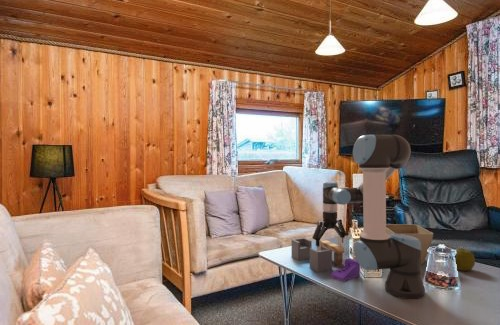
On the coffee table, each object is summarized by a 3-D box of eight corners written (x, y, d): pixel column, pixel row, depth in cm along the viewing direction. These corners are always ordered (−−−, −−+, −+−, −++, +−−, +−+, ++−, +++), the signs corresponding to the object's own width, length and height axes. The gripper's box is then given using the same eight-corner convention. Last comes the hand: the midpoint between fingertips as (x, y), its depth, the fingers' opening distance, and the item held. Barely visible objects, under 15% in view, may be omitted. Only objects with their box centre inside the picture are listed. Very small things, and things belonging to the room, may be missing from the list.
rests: (342, 263, 174) (342, 252, 174) (337, 264, 173) (337, 253, 173) (322, 254, 190) (322, 243, 189) (318, 254, 188) (318, 244, 188)
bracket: (347, 271, 165) (347, 257, 165) (359, 275, 160) (359, 261, 159) (330, 277, 158) (330, 262, 158) (342, 282, 152) (342, 266, 152)
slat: (343, 252, 174) (344, 247, 173) (337, 253, 172) (337, 248, 172) (322, 243, 190) (322, 238, 190) (316, 244, 188) (316, 239, 188)
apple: (470, 275, 158) (470, 251, 158) (447, 269, 166) (448, 247, 165) (477, 270, 165) (478, 247, 164) (455, 264, 172) (456, 243, 172)
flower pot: (433, 266, 169) (434, 233, 168) (394, 266, 170) (395, 233, 169) (415, 254, 188) (416, 224, 187) (380, 254, 189) (381, 224, 188)
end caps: (331, 269, 167) (332, 249, 167) (317, 271, 164) (317, 252, 163) (304, 254, 189) (304, 237, 189) (291, 256, 186) (291, 239, 185)
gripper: (344, 207, 188) (343, 245, 190) (305, 211, 178) (305, 251, 180) (353, 210, 182) (353, 249, 183) (314, 214, 171) (313, 256, 173)
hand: (329, 250), depth 181 cm, fingers open, 13 cm apart
